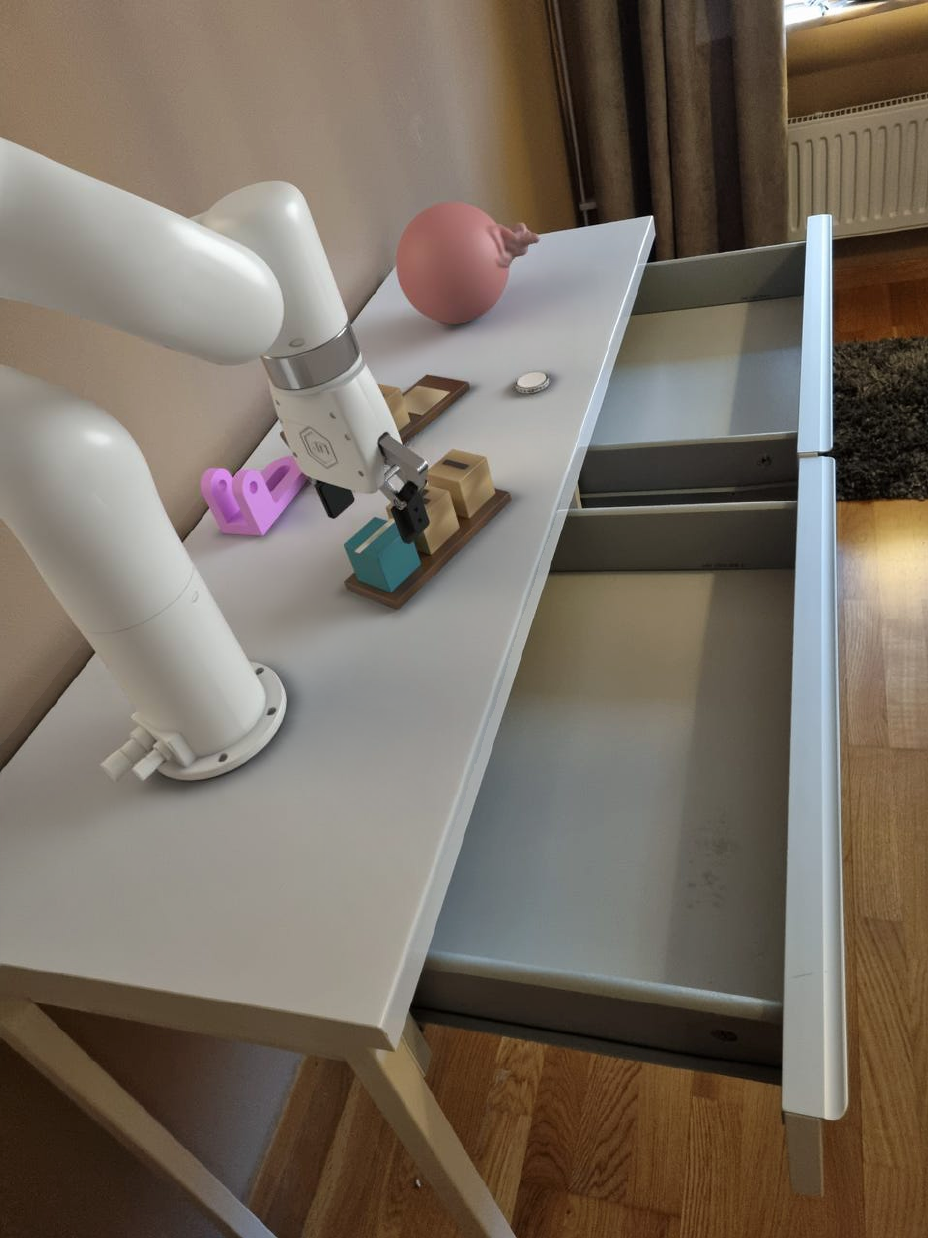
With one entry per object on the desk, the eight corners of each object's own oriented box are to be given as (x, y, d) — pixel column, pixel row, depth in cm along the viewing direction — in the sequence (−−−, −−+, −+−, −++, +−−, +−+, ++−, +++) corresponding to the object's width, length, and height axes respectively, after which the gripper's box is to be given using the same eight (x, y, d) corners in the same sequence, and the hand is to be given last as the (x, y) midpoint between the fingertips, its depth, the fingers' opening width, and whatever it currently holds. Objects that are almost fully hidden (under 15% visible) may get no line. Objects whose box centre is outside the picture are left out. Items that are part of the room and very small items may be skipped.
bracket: (262, 535, 96) (237, 483, 92) (222, 532, 99) (195, 481, 94) (318, 466, 104) (298, 414, 100) (279, 465, 107) (258, 414, 102)
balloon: (539, 335, 116) (518, 216, 106) (399, 349, 123) (366, 237, 112) (560, 283, 126) (542, 170, 116) (429, 298, 133) (402, 192, 123)
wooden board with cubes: (398, 610, 82) (381, 564, 78) (346, 589, 86) (327, 544, 82) (511, 499, 91) (500, 453, 87) (459, 485, 95) (447, 441, 91)
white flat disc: (554, 376, 107) (553, 371, 107) (541, 393, 105) (540, 388, 104) (524, 375, 109) (523, 370, 108) (511, 392, 106) (510, 387, 106)
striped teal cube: (388, 595, 82) (374, 558, 79) (355, 582, 85) (339, 545, 82) (423, 562, 85) (411, 524, 82) (390, 550, 87) (376, 513, 84)
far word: (351, 488, 99) (335, 446, 95) (310, 476, 103) (293, 434, 100) (470, 388, 110) (460, 347, 106) (428, 381, 114) (417, 340, 110)
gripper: (211, 365, 73) (289, 524, 85) (355, 395, 63) (422, 571, 75) (274, 319, 77) (341, 478, 88) (420, 341, 67) (475, 518, 78)
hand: (378, 521), depth 81 cm, fingers open, 9 cm apart
